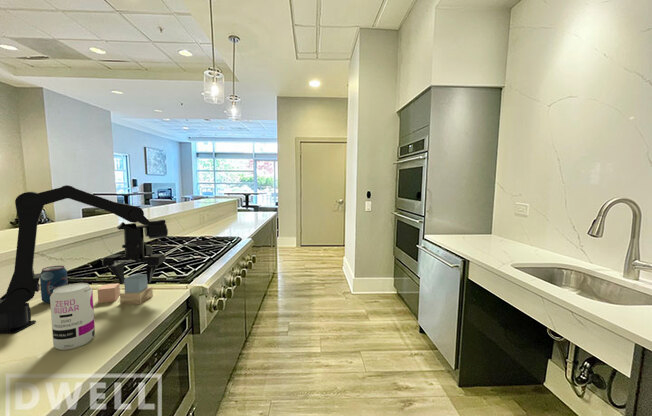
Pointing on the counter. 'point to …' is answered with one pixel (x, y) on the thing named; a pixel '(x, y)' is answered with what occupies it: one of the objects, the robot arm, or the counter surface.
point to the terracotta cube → (108, 293)
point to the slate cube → (135, 283)
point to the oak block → (136, 296)
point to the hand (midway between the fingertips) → (136, 282)
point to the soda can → (52, 281)
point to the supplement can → (72, 315)
